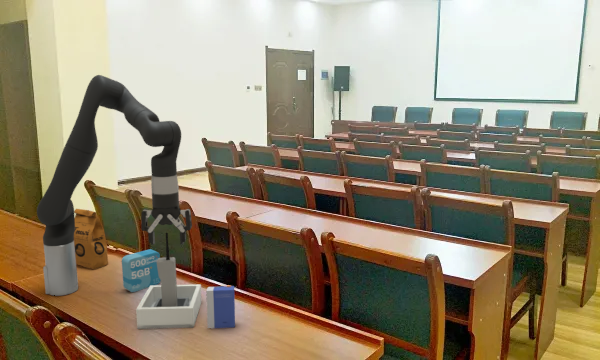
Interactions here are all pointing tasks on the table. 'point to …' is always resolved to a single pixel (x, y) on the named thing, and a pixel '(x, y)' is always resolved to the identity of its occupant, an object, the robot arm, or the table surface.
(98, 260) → the coffee package
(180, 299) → the box
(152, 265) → the data package
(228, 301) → the walkman
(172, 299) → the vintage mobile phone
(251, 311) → the table surface
